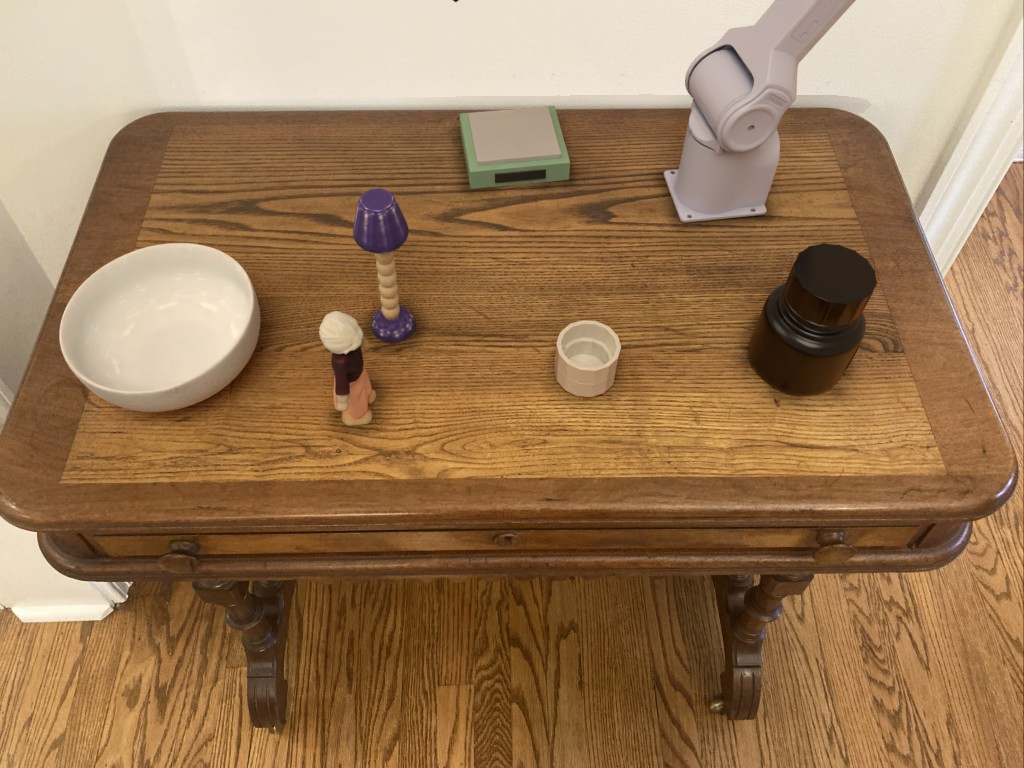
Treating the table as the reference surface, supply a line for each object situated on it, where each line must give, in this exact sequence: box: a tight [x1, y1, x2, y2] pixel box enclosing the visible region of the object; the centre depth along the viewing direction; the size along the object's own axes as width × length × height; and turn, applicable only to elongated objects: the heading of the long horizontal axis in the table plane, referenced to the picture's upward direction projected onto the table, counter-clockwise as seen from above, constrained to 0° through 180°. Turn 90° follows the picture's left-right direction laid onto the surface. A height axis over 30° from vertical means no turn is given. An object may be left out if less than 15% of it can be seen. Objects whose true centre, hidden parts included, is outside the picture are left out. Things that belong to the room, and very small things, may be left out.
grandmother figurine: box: [318, 310, 377, 427], centre depth 72 cm, size 8×4×13 cm, turn 5°
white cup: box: [553, 319, 622, 398], centre depth 78 cm, size 6×6×5 cm
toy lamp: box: [352, 187, 417, 344], centre depth 76 cm, size 5×5×17 cm
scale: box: [459, 105, 571, 190], centre depth 96 cm, size 11×10×3 cm
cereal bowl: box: [58, 242, 262, 413], centre depth 77 cm, size 17×17×7 cm
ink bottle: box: [748, 242, 878, 397], centre depth 76 cm, size 10×9×12 cm
